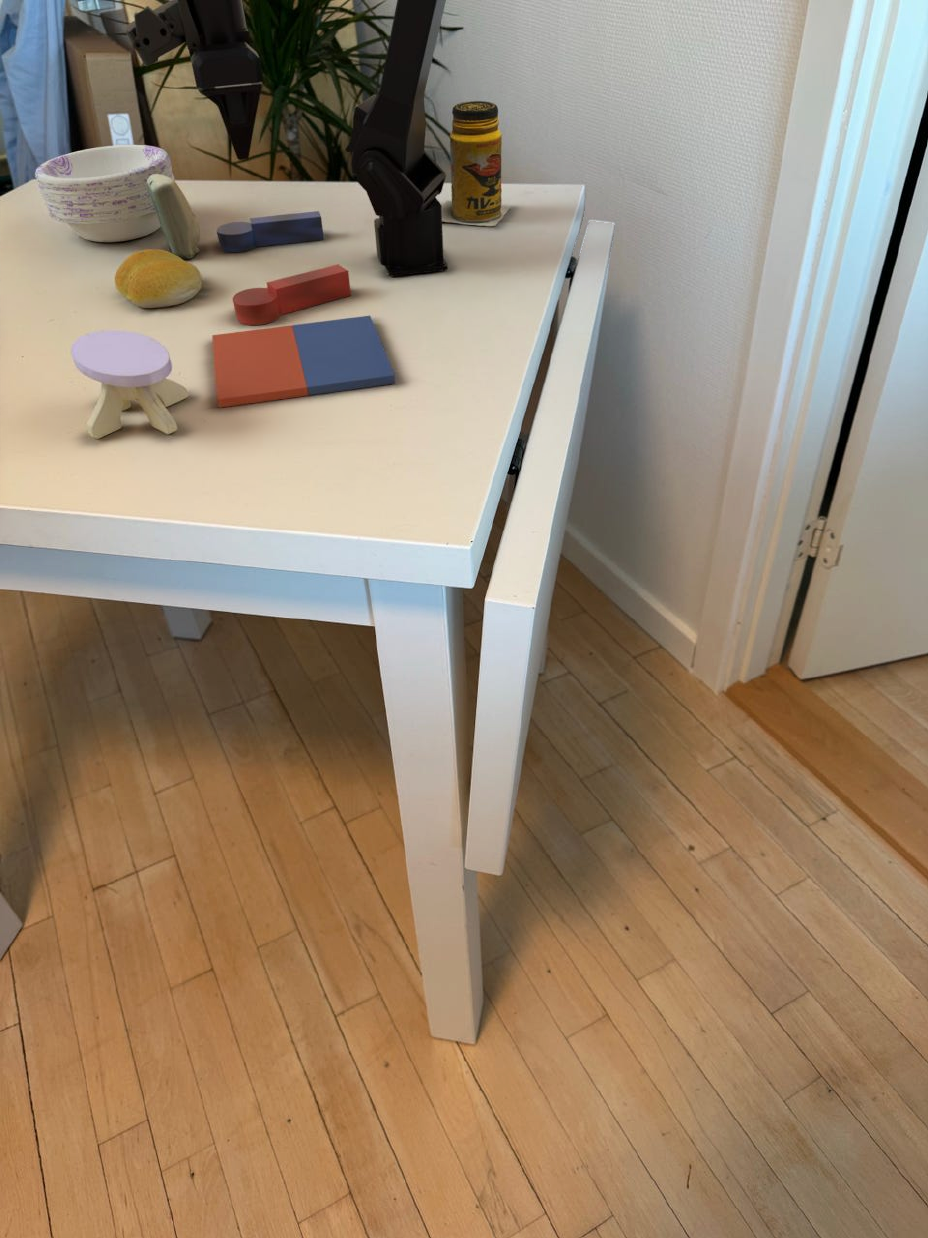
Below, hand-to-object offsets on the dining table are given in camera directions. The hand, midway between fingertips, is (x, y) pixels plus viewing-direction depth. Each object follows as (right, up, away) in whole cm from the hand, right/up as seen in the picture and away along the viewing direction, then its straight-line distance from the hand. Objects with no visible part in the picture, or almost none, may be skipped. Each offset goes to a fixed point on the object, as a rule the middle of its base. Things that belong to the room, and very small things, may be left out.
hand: (239, 147), depth 92 cm
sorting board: (+9, -27, -14) cm, 31 cm away
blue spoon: (+1, -6, +10) cm, 11 cm away
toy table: (-3, -33, -20) cm, 39 cm away
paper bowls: (-18, -3, +14) cm, 23 cm away
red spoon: (+7, -18, -4) cm, 20 cm away
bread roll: (-8, -16, -1) cm, 18 cm away
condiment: (+25, 0, +15) cm, 29 cm away
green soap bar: (-9, -8, +8) cm, 14 cm away
